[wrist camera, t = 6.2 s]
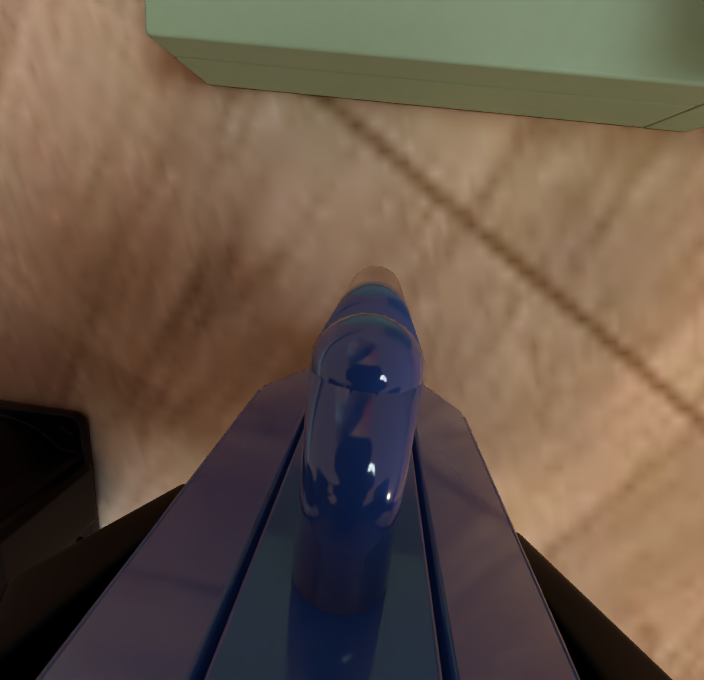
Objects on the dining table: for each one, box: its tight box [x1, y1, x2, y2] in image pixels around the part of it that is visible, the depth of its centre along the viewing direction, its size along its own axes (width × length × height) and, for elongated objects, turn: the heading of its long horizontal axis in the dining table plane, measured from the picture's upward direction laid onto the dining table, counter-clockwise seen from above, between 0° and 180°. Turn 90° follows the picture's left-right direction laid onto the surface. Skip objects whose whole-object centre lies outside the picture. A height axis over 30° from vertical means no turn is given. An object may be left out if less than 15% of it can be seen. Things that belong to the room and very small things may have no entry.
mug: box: [35, 266, 581, 680], centre depth 6 cm, size 7×9×7 cm
